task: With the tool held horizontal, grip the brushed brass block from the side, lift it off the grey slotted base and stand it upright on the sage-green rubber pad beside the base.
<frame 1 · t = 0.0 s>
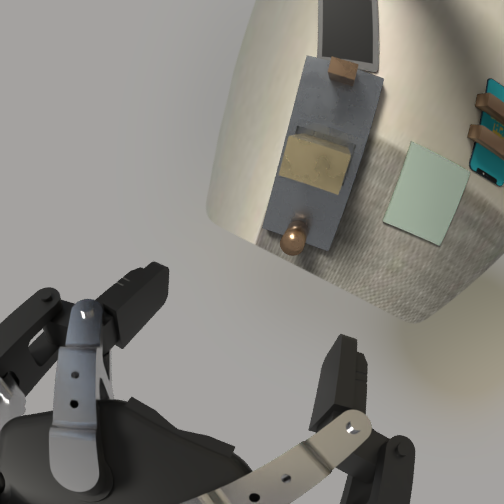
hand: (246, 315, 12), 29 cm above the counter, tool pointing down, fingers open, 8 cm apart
smartphone 2: (348, 23, 26), on the counter
grey slotted base: (322, 153, 35), on the counter
brushed brass block: (321, 154, 33), point 2 cm above the counter, touching grey slotted base
pad: (427, 195, 32), on the counter
phone stand: (497, 131, 24), on the counter
smartphone: (496, 131, 24), on the counter
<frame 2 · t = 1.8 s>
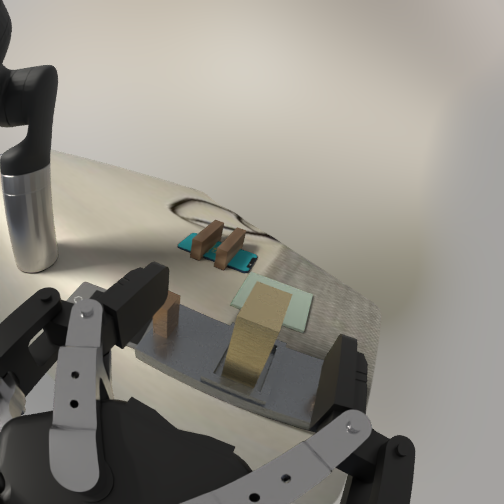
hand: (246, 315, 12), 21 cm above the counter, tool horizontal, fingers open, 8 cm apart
smartphone 2: (110, 316, 35), on the counter
grey slotted base: (242, 372, 33), on the counter
brushed brass block: (245, 363, 32), point 2 cm above the counter, touching grey slotted base
pad: (274, 301, 46), on the counter
phone stand: (217, 251, 55), on the counter
smartphone: (217, 254, 56), on the counter
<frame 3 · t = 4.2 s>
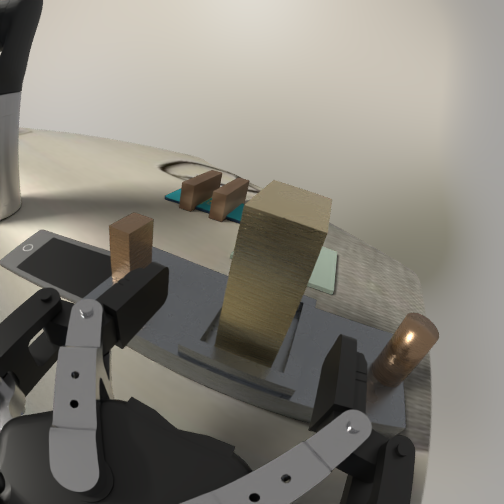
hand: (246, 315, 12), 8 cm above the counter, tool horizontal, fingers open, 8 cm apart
smartphone 2: (64, 268, 24), on the counter
grey slotted base: (249, 346, 21), on the counter
brushed brass block: (255, 329, 20), point 2 cm above the counter, touching grey slotted base
pad: (289, 256, 35), on the counter
phone stand: (214, 204, 44), on the counter
smartphone: (213, 208, 44), on the counter
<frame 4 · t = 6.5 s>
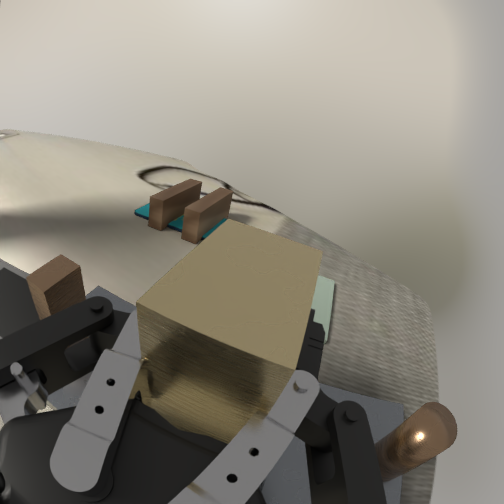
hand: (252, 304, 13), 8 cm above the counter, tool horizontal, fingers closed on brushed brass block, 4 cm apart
smartphone 2: (10, 307, 17), on the counter
grey slotted base: (209, 426, 14), on the counter
brushed brass block: (212, 414, 13), point 2 cm above the counter, touching gripper, grey slotted base
pad: (274, 290, 28), on the counter
phone stand: (190, 220, 37), on the counter
smartphone: (190, 224, 37), on the counter
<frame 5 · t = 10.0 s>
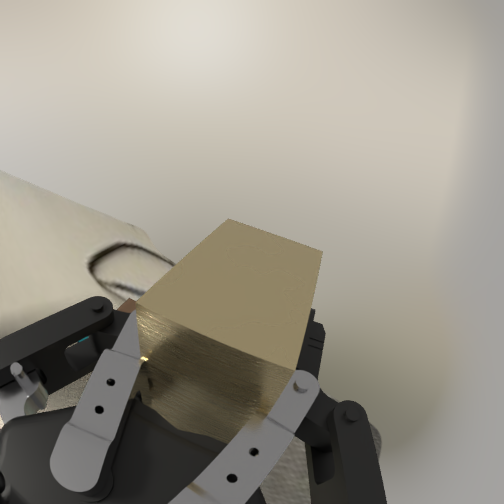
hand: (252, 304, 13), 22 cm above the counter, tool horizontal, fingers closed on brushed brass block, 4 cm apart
brushed brass block: (212, 414, 13), point 15 cm above the counter, touching gripper
when the fingers open (8 cm above the counter, at t = 13.9 s): brushed brass block drops 1 cm, resting on pad.
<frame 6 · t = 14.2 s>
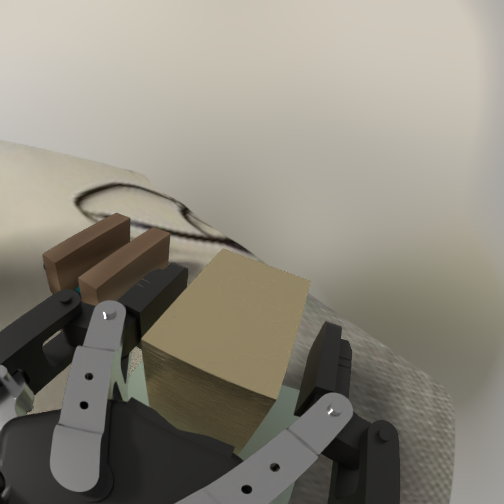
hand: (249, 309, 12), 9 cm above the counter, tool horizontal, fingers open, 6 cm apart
brushed brass block: (209, 422, 14), point 1 cm above the counter, touching pad
pad: (208, 426, 14), on the counter
phone stand: (110, 279, 24), on the counter
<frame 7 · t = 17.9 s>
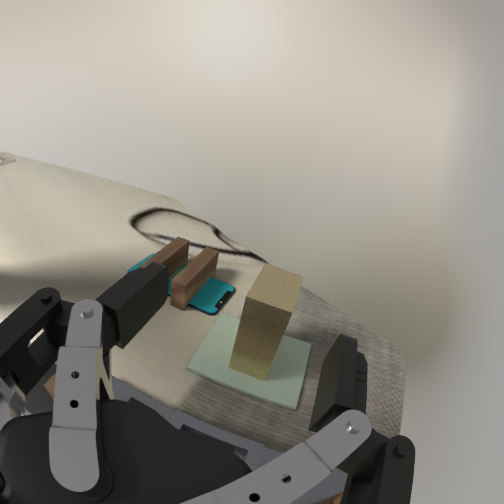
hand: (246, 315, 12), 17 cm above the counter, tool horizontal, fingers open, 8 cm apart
smartphone 2: (25, 378, 19), on the counter
grey slotted base: (195, 481, 16), on the counter
brushed brass block: (254, 355, 30), resting on pad
pad: (253, 358, 30), on the counter
phone stand: (179, 281, 39), on the counter
smartphone: (179, 284, 40), on the counter
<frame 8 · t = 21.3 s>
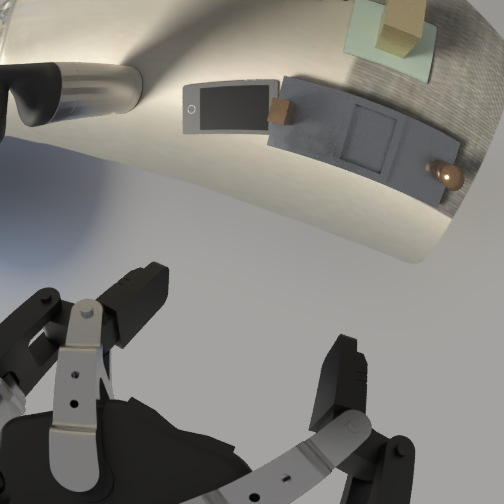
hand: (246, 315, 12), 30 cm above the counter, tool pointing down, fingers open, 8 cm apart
smartphone 2: (229, 107, 37), on the counter
grey slotted base: (366, 138, 33), on the counter
brushed brass block: (392, 35, 24), resting on pad
pad: (392, 37, 25), on the counter
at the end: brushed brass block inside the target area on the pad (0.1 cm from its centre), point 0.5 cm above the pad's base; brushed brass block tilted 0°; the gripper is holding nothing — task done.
